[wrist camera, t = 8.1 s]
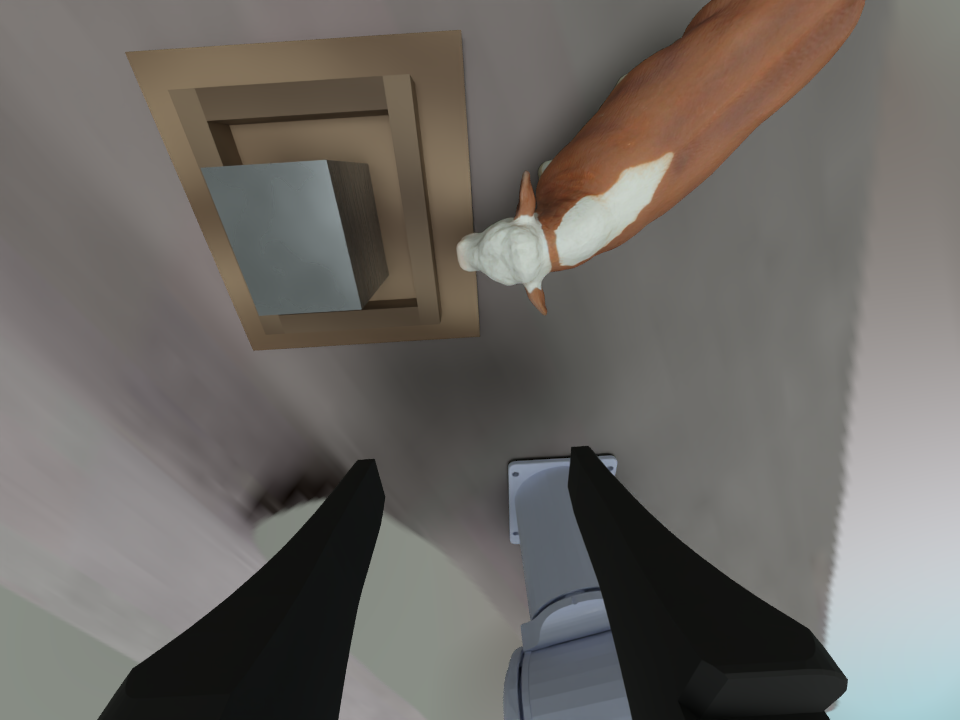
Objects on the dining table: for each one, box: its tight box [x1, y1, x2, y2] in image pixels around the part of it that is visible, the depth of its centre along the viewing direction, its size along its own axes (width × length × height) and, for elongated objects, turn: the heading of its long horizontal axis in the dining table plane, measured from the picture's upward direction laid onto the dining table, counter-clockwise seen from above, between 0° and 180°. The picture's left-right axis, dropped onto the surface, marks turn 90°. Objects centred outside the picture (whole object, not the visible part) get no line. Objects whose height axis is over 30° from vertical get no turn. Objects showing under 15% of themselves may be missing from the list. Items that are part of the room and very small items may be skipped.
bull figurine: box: [456, 0, 865, 315], centre depth 12 cm, size 4×13×8 cm, turn 128°
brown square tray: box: [125, 30, 480, 351], centre depth 16 cm, size 13×13×2 cm
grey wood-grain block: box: [201, 160, 389, 316], centre depth 14 cm, size 5×4×5 cm
